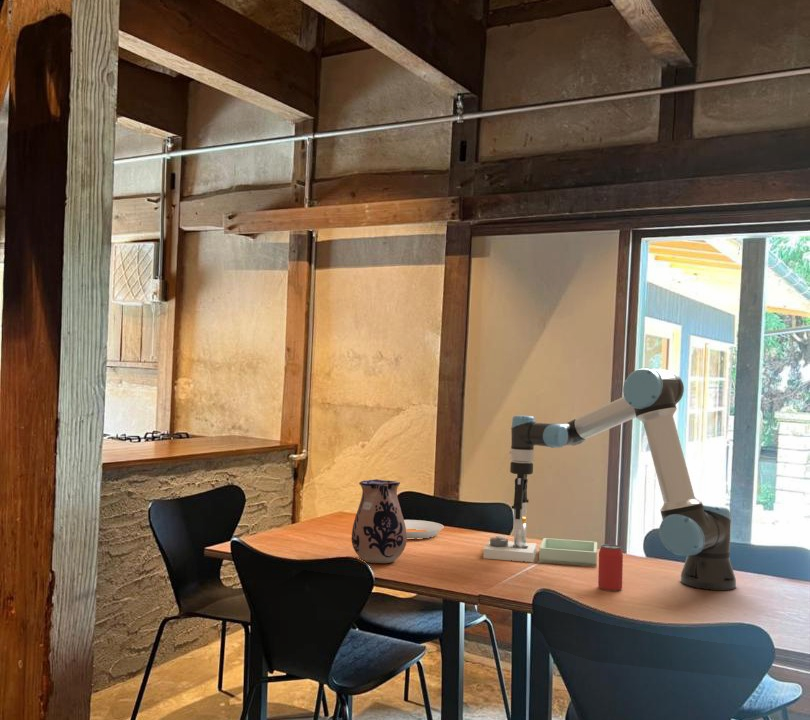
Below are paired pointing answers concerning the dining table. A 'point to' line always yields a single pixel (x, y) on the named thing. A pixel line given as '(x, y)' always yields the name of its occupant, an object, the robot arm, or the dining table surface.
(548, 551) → the tray
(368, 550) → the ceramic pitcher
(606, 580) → the beer can
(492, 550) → the block
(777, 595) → the dining table surface
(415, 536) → the bowl
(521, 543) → the capped clear tube
